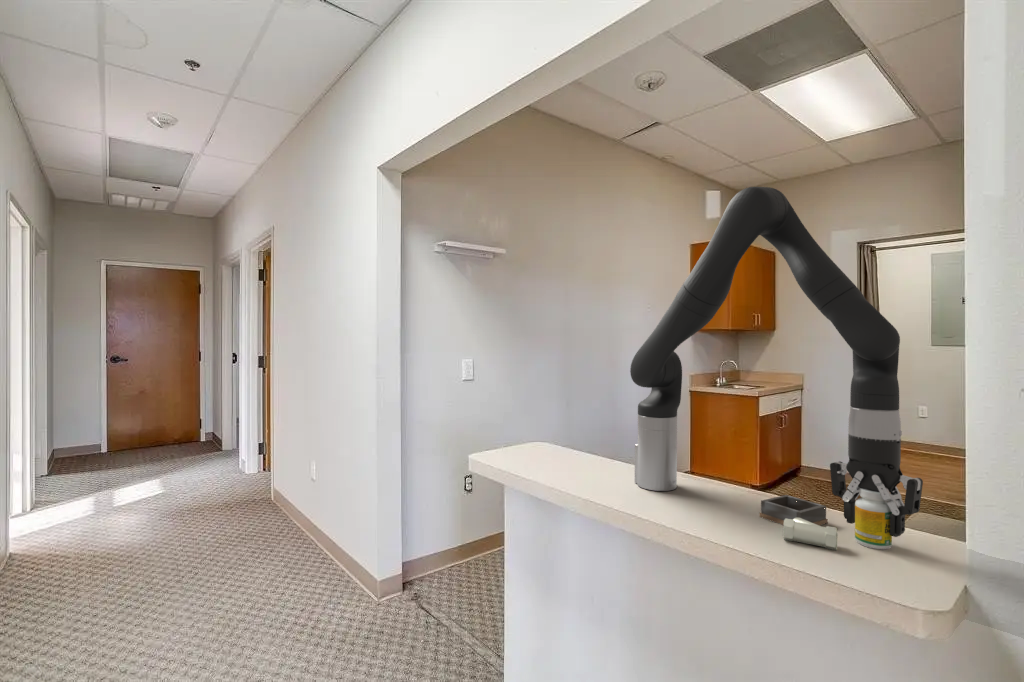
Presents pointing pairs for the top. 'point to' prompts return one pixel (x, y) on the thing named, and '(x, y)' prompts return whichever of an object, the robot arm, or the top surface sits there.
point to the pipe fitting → (809, 533)
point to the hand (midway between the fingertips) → (873, 528)
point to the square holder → (792, 510)
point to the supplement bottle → (872, 520)
